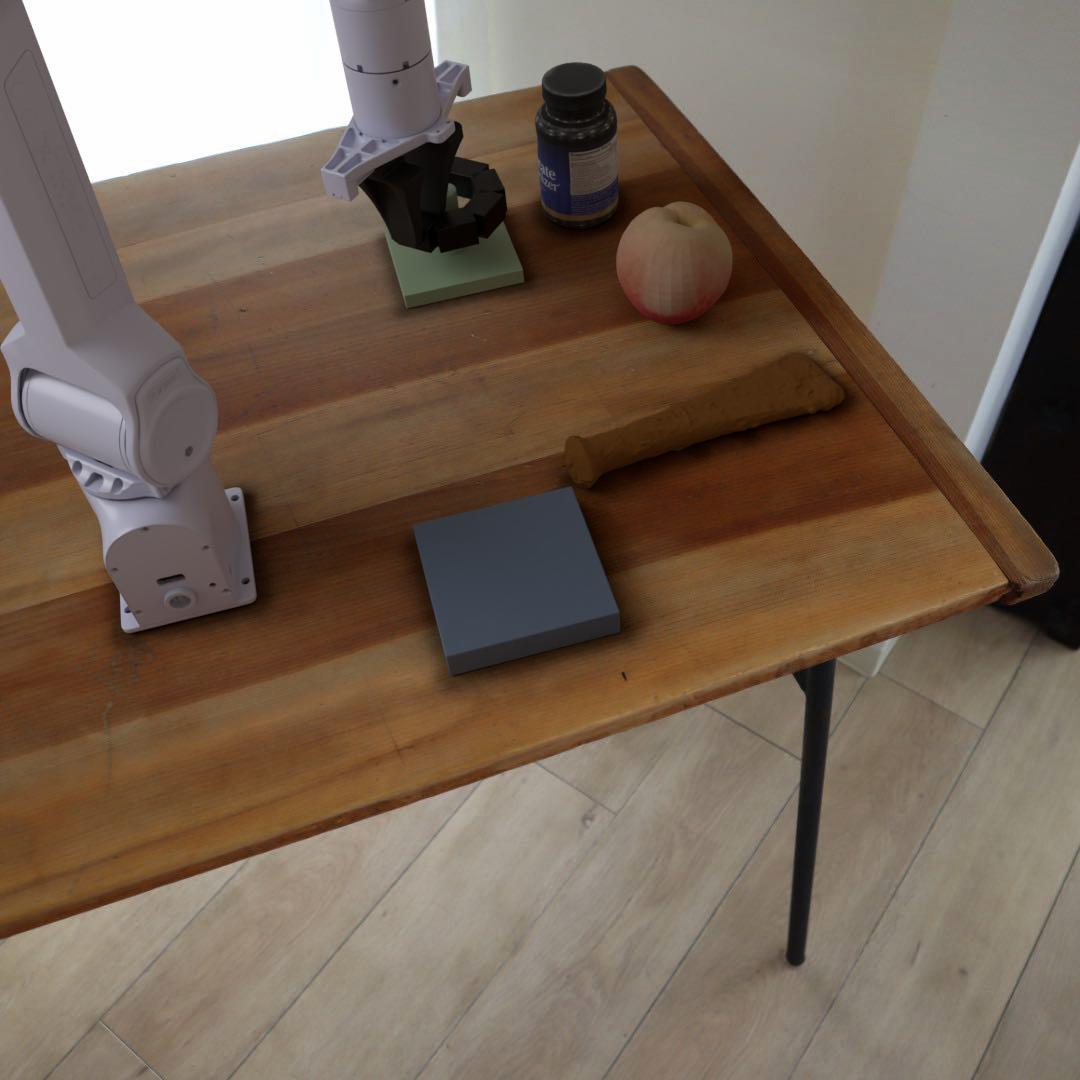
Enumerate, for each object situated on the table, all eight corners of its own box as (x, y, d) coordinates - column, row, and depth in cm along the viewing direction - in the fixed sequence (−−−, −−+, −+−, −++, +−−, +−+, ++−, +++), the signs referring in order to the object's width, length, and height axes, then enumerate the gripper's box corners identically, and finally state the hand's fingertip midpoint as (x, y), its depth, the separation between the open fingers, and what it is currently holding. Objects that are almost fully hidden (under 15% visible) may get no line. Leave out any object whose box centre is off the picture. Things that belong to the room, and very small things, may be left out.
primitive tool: (800, 355, 81) (805, 315, 78) (851, 402, 77) (858, 362, 75) (556, 467, 76) (552, 429, 73) (599, 523, 72) (597, 485, 70)
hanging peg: (524, 282, 88) (517, 212, 83) (406, 308, 87) (392, 239, 82) (496, 214, 94) (488, 145, 89) (386, 238, 93) (371, 169, 88)
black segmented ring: (519, 234, 85) (516, 210, 83) (400, 263, 84) (395, 240, 82) (487, 170, 90) (484, 147, 89) (376, 197, 89) (371, 174, 88)
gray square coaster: (620, 632, 67) (620, 612, 66) (450, 676, 66) (445, 657, 65) (573, 506, 73) (571, 485, 72) (417, 545, 72) (412, 524, 71)
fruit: (751, 320, 83) (759, 225, 77) (651, 359, 81) (651, 265, 75) (694, 260, 88) (697, 166, 82) (599, 295, 86) (594, 202, 80)
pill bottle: (532, 196, 95) (520, 67, 86) (604, 178, 96) (599, 48, 87) (556, 239, 91) (546, 108, 82) (630, 220, 92) (628, 89, 83)
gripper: (370, 123, 69) (407, 305, 79) (500, 10, 76) (518, 190, 87) (277, 97, 72) (324, 277, 82) (411, -9, 79) (439, 168, 90)
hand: (419, 231), depth 85 cm, fingers closed on black segmented ring, 2 cm apart
